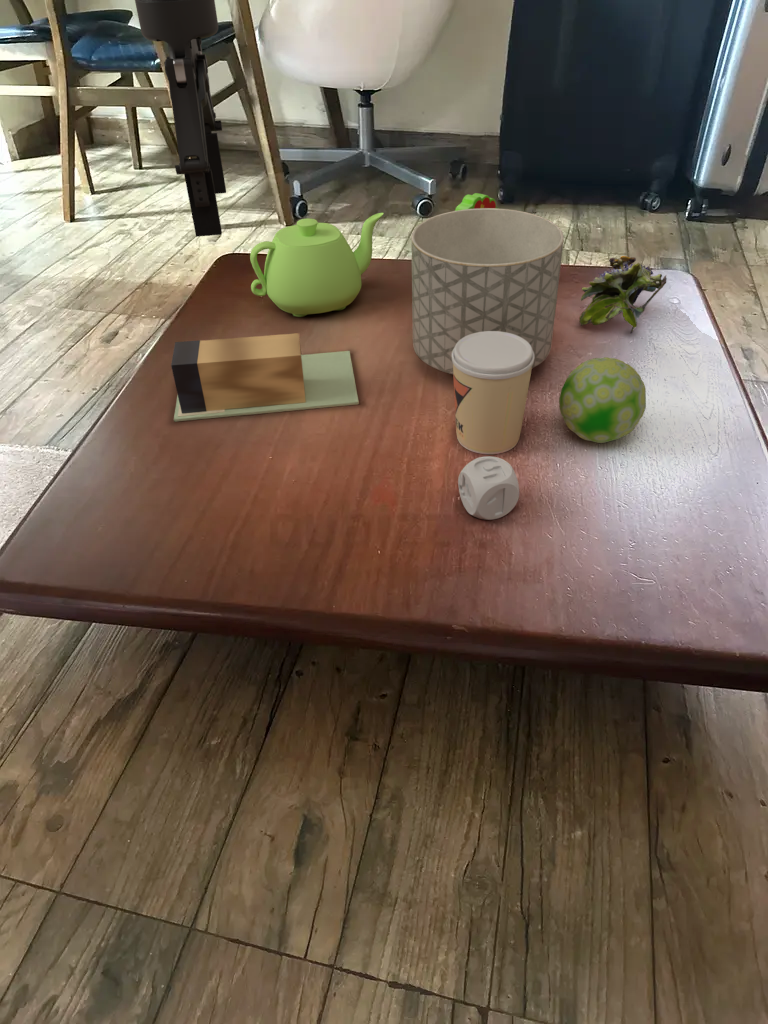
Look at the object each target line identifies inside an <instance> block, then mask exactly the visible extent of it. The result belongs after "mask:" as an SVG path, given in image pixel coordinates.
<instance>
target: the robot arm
mask: <svg viewBox="0 0 768 1024" xmlns="http://www.w3.org/2000/svg"><path fill="white" fill-rule="evenodd" d="M215 1H216V0H134V3H135V8H136V13H137V18H138V23H139V28H140V33H141V35H142V36H143V38H145V40H148V41H152V42H156V43H157V42H165V43H166V44H167V46H168V47H167V48H168V54H169V56H167V55H166V58H165V60H164V63H163V64H164V73H165V76H166V78H167V82H168V89H169V96H170V101H171V107H172V115H173V122H174V130H175V137H176V138H175V139H176V146H177V152H178V159H179V162H178V164H175V165H174V168H175V173H176V175H184V181H185V186H186V191H187V192H186V193H187V196H188V197H187V198H188V201H189V206H190V212H191V218H192V223H193V228H194V233H195V237H196V238H197V237H198V238H199V237H211V236H222V235H223V230H222V224H221V219H220V211H219V207H218V200H217V196H216V195H218V194H226V193H227V188H226V181H225V175H224V168H223V163H222V156H221V150H220V143H219V136H218V132H222V131H223V123H222V120H220V119H219V120H216V119H217V114H216V112H215V109H214V104H213V99H212V93H211V89H210V77H209V74H208V73H209V66H208V59H207V55H206V53H203V49H202V43H203V42H202V39H207V38H210V37H212V36H214V35H216V34H217V33H218V31H219V22H218V16H217V9H216V2H215ZM193 157H195V158H193Z"/></svg>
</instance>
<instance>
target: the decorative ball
mask: <svg viewBox="0 0 768 1024" xmlns="http://www.w3.org/2000/svg"><path fill="white" fill-rule="evenodd" d="M646 400H647V388H646V384H645V382H644V381H643V379H642V377H641V375H640V374H639V373H638V371H637V370H636V369H635V368H634V367H633V366H631V365H630V364H629V363H626V362H625V361H623V360H621V359H618V358H614V357H607V356H605V357H594V358H590V359H588V360H586V361H584V362H581V363H580V364H578V365H577V366H576V368H574V369H573V370H571V371H570V372H569V375H568V376H567V377H566V379H565V381H564V383H563V385H562V388H561V390H560V393H559V397H558V403H559V404H558V406H559V408H558V409H559V412H560V415H561V417H562V419H563V421H564V423H565V425H566V427H567V429H568V430H570V431H571V432H572V433H574V434H575V435H577V436H578V438H580V439H582V440H585V441H589V442H593V443H598V444H599V443H600V444H604V443H608V442H612V441H616V440H619V439H621V438H624V437H625V436H627V435H629V434H630V433H631V432H632V431H634V430H635V429H636V427H637V425H638V424H639V423H640V421H641V420H642V418H643V416H644V414H645V412H646V408H647V401H646Z"/></svg>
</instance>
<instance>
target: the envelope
mask: <svg viewBox="0 0 768 1024" xmlns="http://www.w3.org/2000/svg"><path fill="white" fill-rule="evenodd" d="M301 356H302V366H303V376H304V387H305V400H306V403H295V404H283V405H271V406H259V407H247V408H235V409H223V410H211V411H205V412H193V413H182V412H181V407H180V403H179V398H178V394H176V395H177V396H176V403H175V408H174V416H173V422H174V423H175V422H186V421H187V422H188V421H197V420H208V419H217V418H218V419H219V418H230V417H239V416H240V417H241V416H250V415H251V416H252V415H258V414H259V415H261V414H271V413H282V412H291V411H292V412H294V411H303V410H304V411H305V410H313V409H315V410H316V409H325V408H335V407H346V406H355V405H357V406H358V405H359V404H360V403H359V396H358V391H357V386H356V380H355V374H354V373H355V372H354V369H353V362H352V357H351V351H350V350H343V351H342V350H341V351H332V352H331V351H330V352H319V353H308V354H301Z"/></svg>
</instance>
